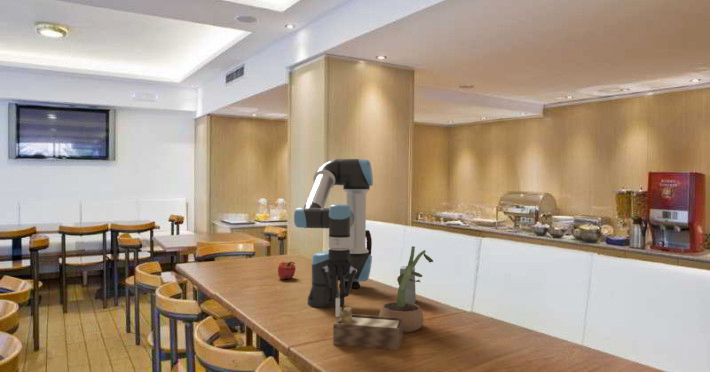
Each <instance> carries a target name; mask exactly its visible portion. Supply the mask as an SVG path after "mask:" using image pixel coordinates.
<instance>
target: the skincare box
mask: <svg viewBox="0 0 710 372" xmlns="http://www.w3.org/2000/svg"><path fill="white" fill-rule="evenodd" d="M406 266H407V265H406ZM406 266H404V265H403V266H401V267H400V268H399V274H400V275H401V274H403V273H404V271H405V269H406ZM412 271H414V272H416V266H414V268H413V269H412ZM400 275H399V276H400ZM410 279H412V280H415V281H416V276H415V275H412V274H411V276H410ZM416 297H417V296H416V282H413V281H409V282H408V284H407V288H406V294H405V300H406V301H405V302H408V303H413V304H416V300H417V299H416Z"/></svg>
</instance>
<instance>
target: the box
mask: <svg viewBox="0 0 710 372" xmlns="http://www.w3.org/2000/svg"><path fill="white" fill-rule="evenodd" d="M352 317H358V318H372V319H385V320H399V324H398V327H397V328H390V327H377V326H364V325H351V324H341V317H339V318H338V320H337V321H336V322H334V323H333V328H332V329H333V333H332V334H333V335H332V336H333V337H332V338H333V340H332V342H333V343H332V344H333V345H334V346H335V345H336V346H347V347H359V348H370V349H379V350H380V349H382V350H394V351H399V349H400V345H401V343H402V341H403V340H402V339H403V332H402V330H403V318H400V317H386V316H379V315H370V314H369V315H368V314H355V313H352Z"/></svg>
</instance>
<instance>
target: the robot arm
mask: <svg viewBox="0 0 710 372" xmlns="http://www.w3.org/2000/svg"><path fill="white" fill-rule="evenodd" d="M373 176H374V175H373V169H372V164H371V161H370V160H368V159H365V158H363V159H362V158H334V159H331V160H328V161H326V162H325V163H323V164H322V165H320V166H319V168H317V170H316V171H315V173H314V175H313V178H312V181H313V184H312V186H311V189H310V191H309V194H308V195H307V197H306V198H307V199H306V200H305V203H304V206H302V207H297V208H295V210H294V212H293V223H294V226H295V227H296V228H301V229H328V248H329V249H328V250H323V251H319V252H316V253H314V254H313V255H312V256H311V286H310V287H311V288H310V291H309V293H308V295H307V305H308V306H310V307H314V308H334V307H335V317H336V318H341V313H342V311H343V309H342V308H344V306H345V299H346V297H348V296H350V294H351V291H352V288H351V287H352V283H353V281H357V282H359V283H360V282H367V281H368V280H369V277H370V275H371V268H372V262H373V256H372V254H371V255H369V251H368V250H367V246H366V237H365V235H366V230H367V229H366V226H367V225H366V222H367V221H366V219H367V218H366V217H367V216H366V215H367V213H366V212H367V193H368V192H369V191H370V187H373V185H374V179H373V178H374V177H373ZM334 186H342V189H343V191H344V192H345V194H346V204H344V203H343V204H341V203H339V204H337V203H336V204H335V203H334V204H331V205H329V207H327V208H326V204H327V201H328V198H329V195H330V192H331V189H332V188H333V187H334ZM345 281H348V284H347V288H345ZM339 284H340V287H339Z"/></svg>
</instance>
